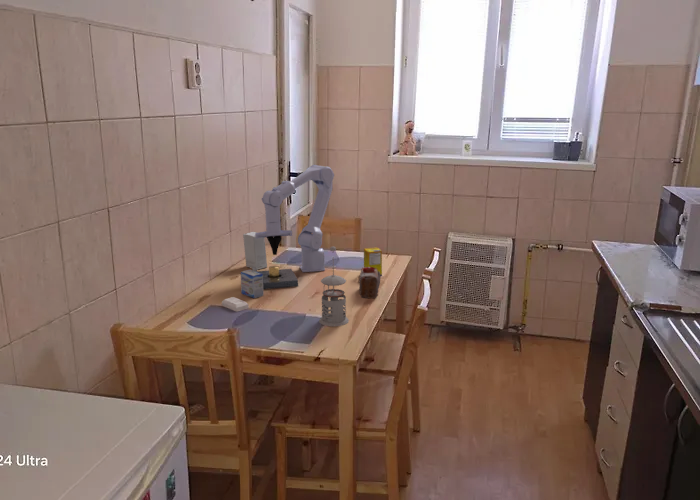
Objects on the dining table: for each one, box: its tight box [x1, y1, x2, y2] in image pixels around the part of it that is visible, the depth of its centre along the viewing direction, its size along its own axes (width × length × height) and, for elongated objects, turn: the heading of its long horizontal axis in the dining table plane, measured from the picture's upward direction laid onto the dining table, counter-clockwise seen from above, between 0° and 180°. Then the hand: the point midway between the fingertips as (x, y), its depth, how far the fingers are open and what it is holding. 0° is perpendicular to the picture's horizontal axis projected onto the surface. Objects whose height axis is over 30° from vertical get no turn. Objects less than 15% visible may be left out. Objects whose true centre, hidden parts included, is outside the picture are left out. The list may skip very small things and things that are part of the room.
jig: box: [251, 267, 299, 290], centre depth 223 cm, size 16×16×4 cm
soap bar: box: [221, 296, 250, 313], centre depth 197 cm, size 5×9×3 cm, turn 45°
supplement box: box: [363, 246, 383, 277], centre depth 231 cm, size 6×6×11 cm
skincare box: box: [242, 231, 268, 271], centre depth 242 cm, size 8×6×15 cm
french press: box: [318, 246, 350, 327], centre depth 182 cm, size 10×12×25 cm
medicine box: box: [240, 269, 264, 299], centre depth 208 cm, size 8×4×9 cm, turn 47°
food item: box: [358, 267, 381, 299], centre depth 210 cm, size 14×8×10 cm, turn 178°
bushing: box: [268, 265, 280, 278], centre depth 224 cm, size 4×4×6 cm
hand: (274, 254), depth 227 cm, fingers closed
